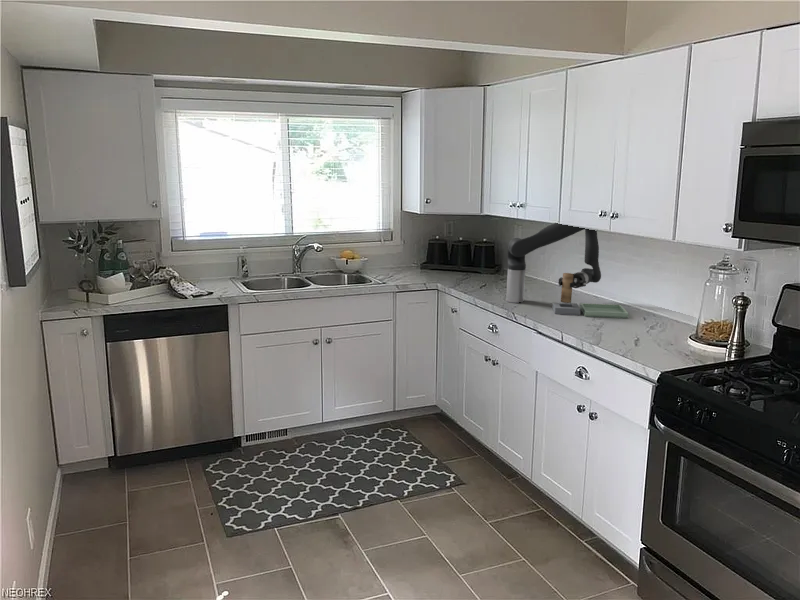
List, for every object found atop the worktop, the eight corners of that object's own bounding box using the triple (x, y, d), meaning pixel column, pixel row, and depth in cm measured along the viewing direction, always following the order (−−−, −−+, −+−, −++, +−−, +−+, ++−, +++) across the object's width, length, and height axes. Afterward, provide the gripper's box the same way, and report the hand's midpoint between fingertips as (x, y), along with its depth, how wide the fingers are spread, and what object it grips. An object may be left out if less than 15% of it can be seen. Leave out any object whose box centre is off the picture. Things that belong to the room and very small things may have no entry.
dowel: (560, 300, 327) (562, 272, 324) (570, 300, 327) (572, 273, 323) (561, 302, 322) (563, 274, 319) (571, 303, 322) (574, 275, 319)
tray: (579, 307, 333) (580, 303, 333) (620, 309, 331) (620, 304, 331) (585, 316, 316) (585, 311, 315) (628, 318, 314) (628, 313, 313)
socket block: (552, 308, 332) (552, 302, 331) (576, 309, 331) (576, 303, 330) (554, 313, 320) (555, 307, 320) (580, 314, 319) (580, 308, 318)
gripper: (565, 270, 337) (552, 275, 324) (593, 274, 329) (580, 279, 315) (564, 284, 339) (550, 289, 325) (591, 289, 330) (578, 294, 317)
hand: (565, 284), depth 320 cm, fingers closed on dowel, 5 cm apart
